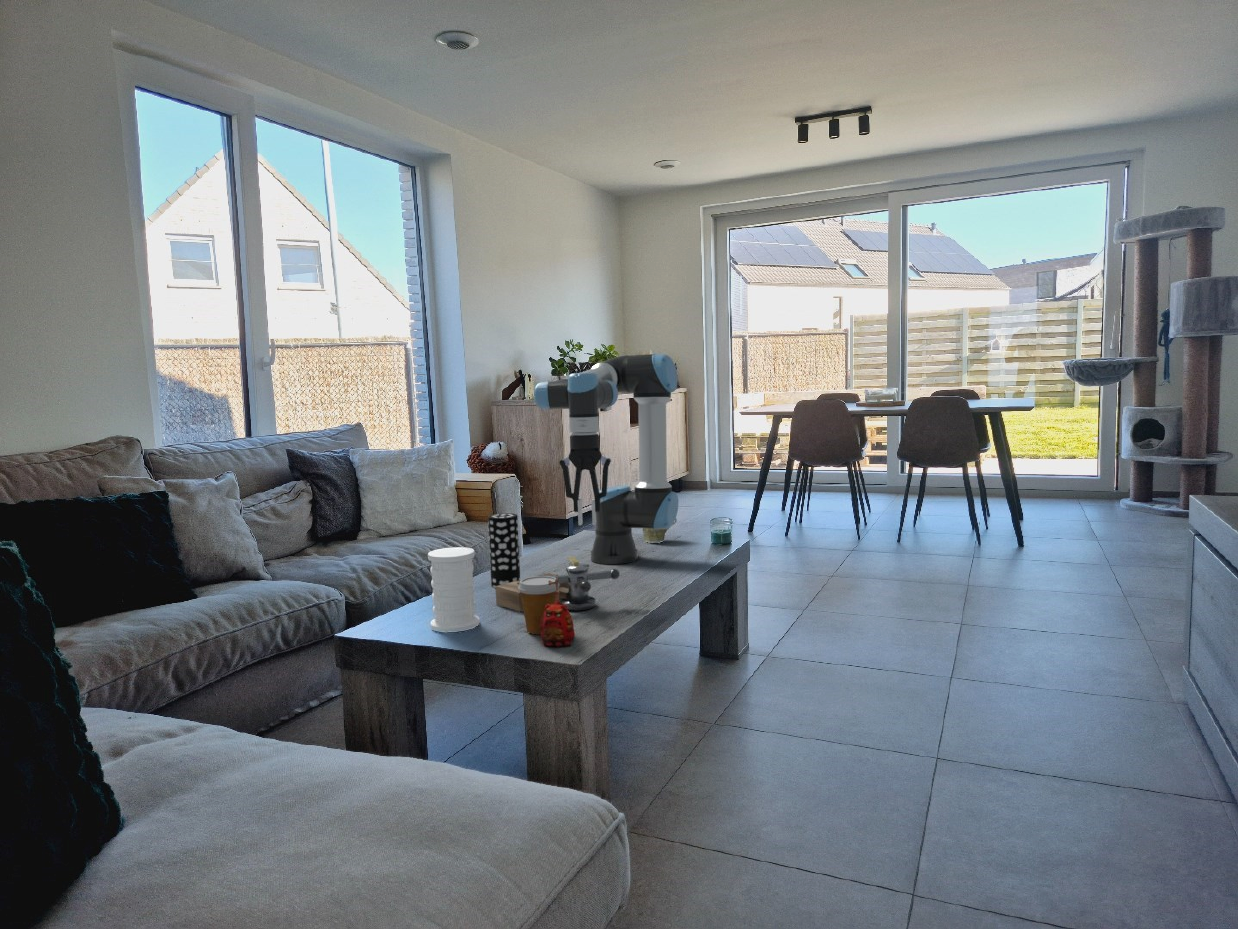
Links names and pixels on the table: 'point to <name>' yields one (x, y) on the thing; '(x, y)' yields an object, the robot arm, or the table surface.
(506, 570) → the spotted tube
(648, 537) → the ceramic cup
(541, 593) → the disposable coffee cup
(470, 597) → the decorative container
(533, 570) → the table surface
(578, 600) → the capstan
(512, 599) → the walnut stand
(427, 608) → the table surface
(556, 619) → the red clay folk toy
